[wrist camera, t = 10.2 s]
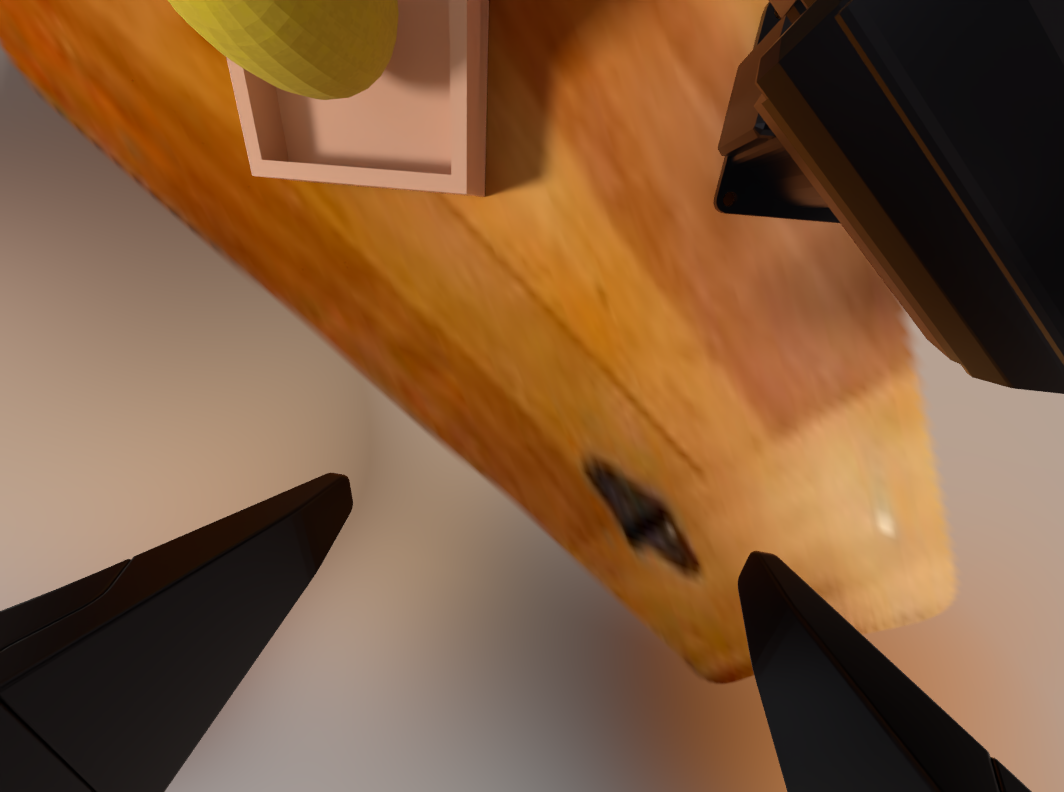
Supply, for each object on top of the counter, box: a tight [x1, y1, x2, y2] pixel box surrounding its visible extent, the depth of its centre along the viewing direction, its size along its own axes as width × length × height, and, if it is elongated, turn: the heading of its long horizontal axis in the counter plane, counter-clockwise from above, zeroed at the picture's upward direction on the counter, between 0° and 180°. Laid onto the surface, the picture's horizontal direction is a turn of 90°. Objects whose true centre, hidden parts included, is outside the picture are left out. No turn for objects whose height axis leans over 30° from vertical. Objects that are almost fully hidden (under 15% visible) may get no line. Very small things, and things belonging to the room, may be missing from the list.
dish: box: [226, 0, 489, 197], centre depth 14 cm, size 9×10×2 cm
